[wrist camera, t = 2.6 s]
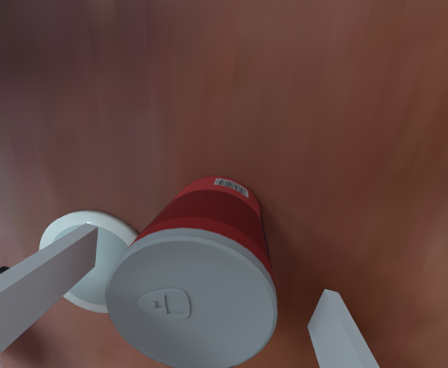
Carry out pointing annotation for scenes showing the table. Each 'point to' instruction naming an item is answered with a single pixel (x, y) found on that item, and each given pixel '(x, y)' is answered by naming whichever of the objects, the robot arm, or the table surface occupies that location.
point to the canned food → (197, 280)
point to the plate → (105, 254)
